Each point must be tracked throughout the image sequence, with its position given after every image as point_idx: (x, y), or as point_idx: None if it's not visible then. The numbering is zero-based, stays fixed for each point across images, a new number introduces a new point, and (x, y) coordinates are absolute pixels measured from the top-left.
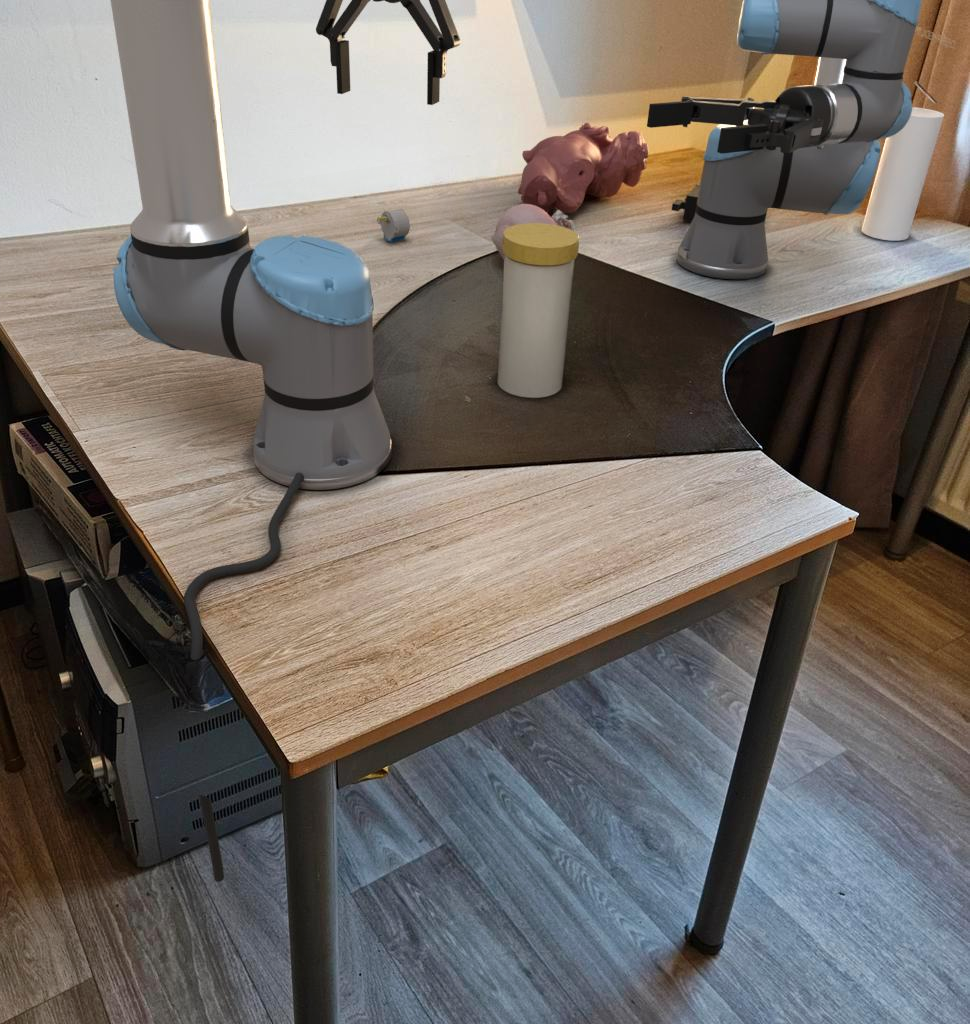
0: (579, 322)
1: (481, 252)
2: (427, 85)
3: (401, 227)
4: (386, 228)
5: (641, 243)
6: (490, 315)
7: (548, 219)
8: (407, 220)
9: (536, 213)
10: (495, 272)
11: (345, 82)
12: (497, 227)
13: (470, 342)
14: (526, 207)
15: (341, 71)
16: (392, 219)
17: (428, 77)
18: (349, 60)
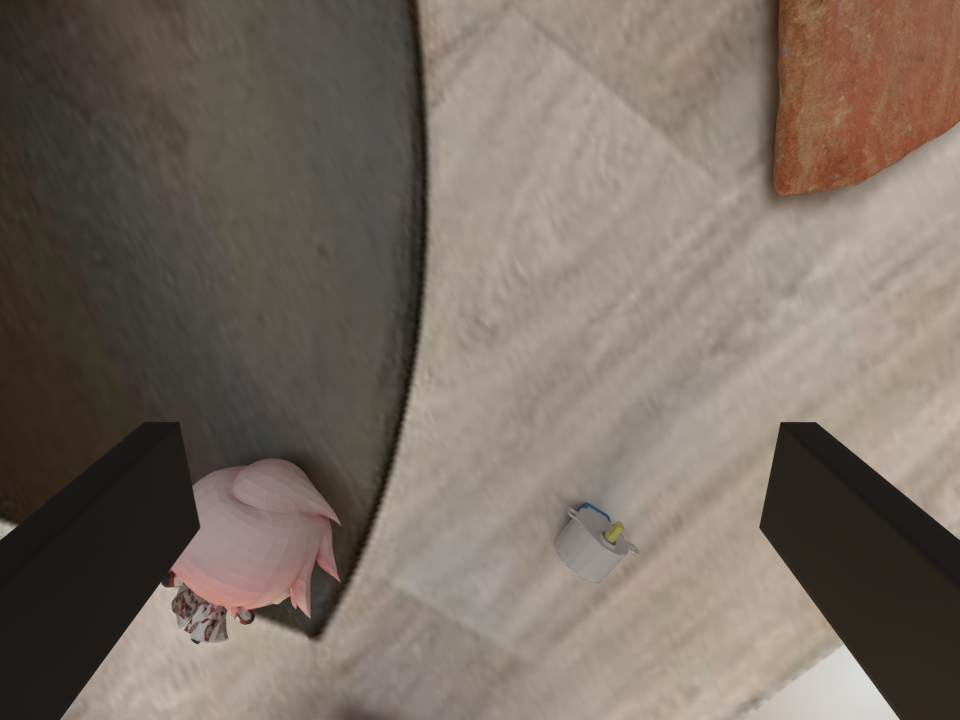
0: (30, 253)
1: (390, 530)
2: (109, 484)
3: (568, 529)
4: (606, 528)
5: (133, 688)
6: (213, 206)
7: None
8: (561, 552)
9: (187, 552)
10: (315, 441)
11: (802, 505)
12: (302, 517)
13: (176, 27)
14: (215, 566)
15: (865, 503)
16: (590, 533)
17: (61, 520)
18: (868, 676)
